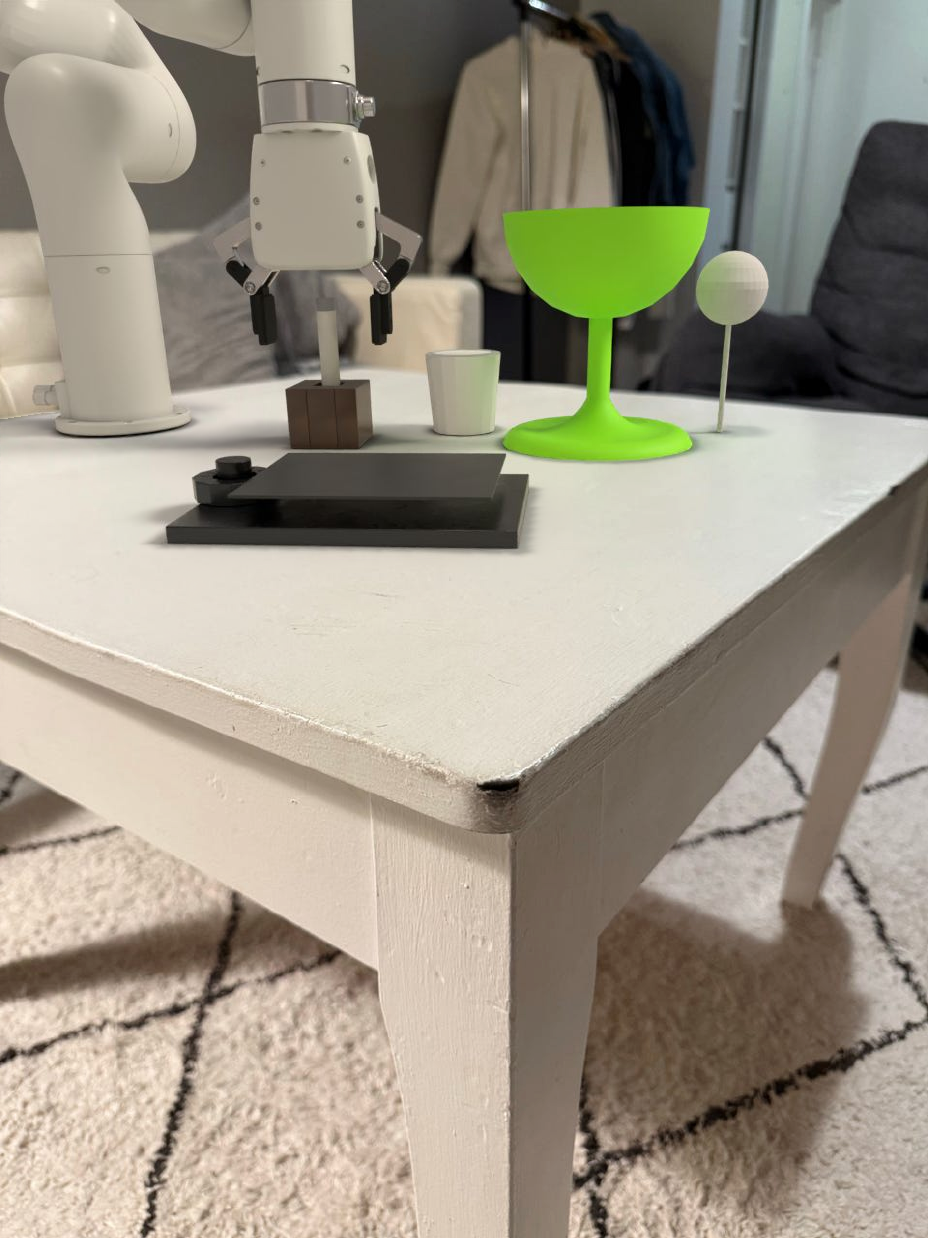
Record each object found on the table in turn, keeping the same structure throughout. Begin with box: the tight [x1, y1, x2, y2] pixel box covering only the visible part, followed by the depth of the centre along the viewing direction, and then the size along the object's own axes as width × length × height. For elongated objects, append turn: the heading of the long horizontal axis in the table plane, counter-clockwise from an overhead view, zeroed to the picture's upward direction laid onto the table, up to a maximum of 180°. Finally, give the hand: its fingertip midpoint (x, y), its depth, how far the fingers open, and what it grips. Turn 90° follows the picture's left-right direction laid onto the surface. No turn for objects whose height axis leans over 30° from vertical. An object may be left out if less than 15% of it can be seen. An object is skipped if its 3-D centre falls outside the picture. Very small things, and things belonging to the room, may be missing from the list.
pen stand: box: [284, 379, 374, 450], centre depth 80 cm, size 6×6×5 cm
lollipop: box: [695, 250, 769, 433], centre depth 79 cm, size 6×6×15 cm
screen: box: [227, 452, 507, 501], centre depth 56 cm, size 15×12×1 cm
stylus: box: [315, 297, 341, 386], centre depth 78 cm, size 2×2×12 cm
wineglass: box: [501, 205, 711, 462], centre depth 75 cm, size 16×16×18 cm
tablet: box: [165, 465, 530, 550], centre depth 57 cm, size 21×14×2 cm
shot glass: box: [424, 348, 501, 436], centre depth 84 cm, size 7×7×7 cm
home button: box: [214, 455, 253, 480], centre depth 57 cm, size 2×2×1 cm
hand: (323, 343), depth 78 cm, fingers open, 9 cm apart
